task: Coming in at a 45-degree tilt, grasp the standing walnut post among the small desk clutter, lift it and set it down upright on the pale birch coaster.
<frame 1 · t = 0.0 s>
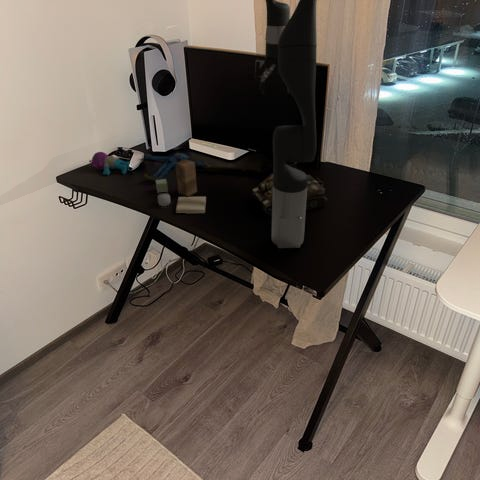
hand: (276, 92, 152), 29 cm above the table, tool pointing down, fingers open, 8 cm apart
toy character: (168, 171, 172), on the table
model tank: (289, 203, 149), on the table
toy: (111, 170, 174), on the table
walnut post: (187, 192, 156), on the table
sage cube: (162, 190, 158), on the table
birch coaster: (191, 206, 148), on the table
grey rubber puck: (164, 204, 149), on the table
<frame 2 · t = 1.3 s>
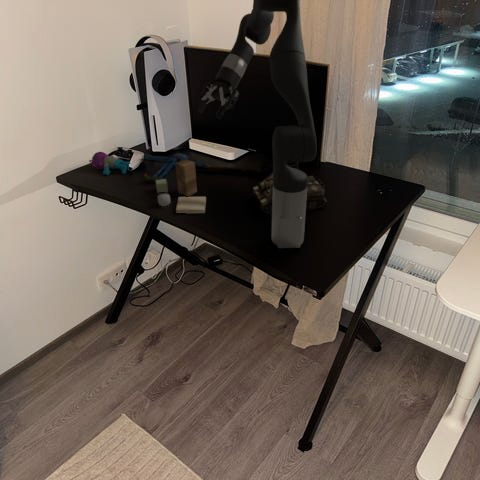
hand: (208, 114, 150), 24 cm above the table, tool tilted 45°, fingers open, 8 cm apart
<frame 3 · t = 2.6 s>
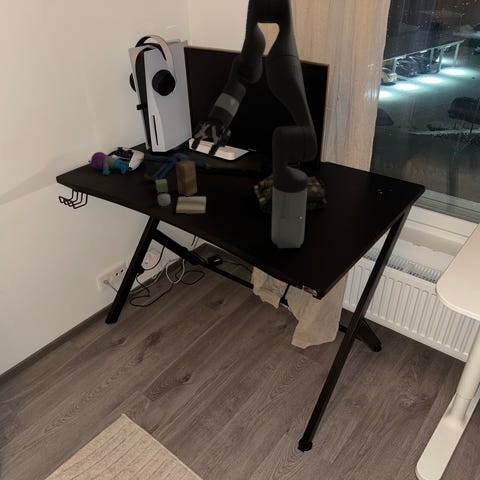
hand: (201, 152, 154), 12 cm above the table, tool tilted 45°, fingers open, 8 cm apart
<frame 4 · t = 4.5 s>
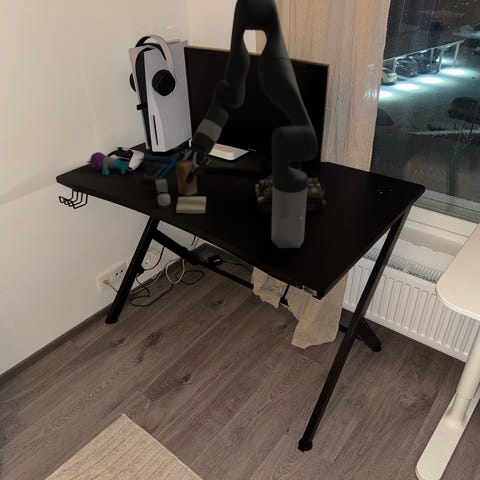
hand: (182, 180, 152), 5 cm above the table, tool tilted 45°, fingers closed on walnut post, 4 cm apart
walnut post: (187, 192, 156), on the table, touching gripper
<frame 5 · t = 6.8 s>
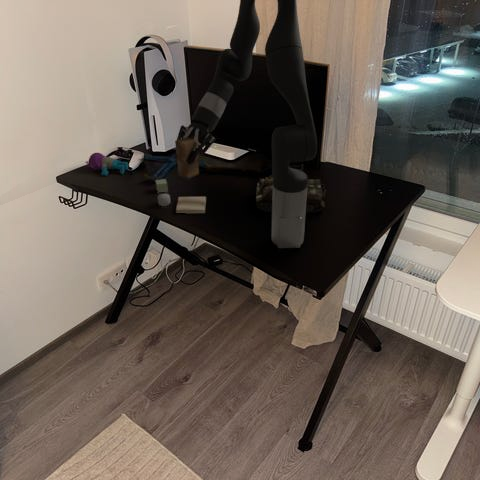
hand: (182, 160, 138), 17 cm above the table, tool tilted 45°, fingers closed on walnut post, 4 cm apart
walnut post: (188, 174, 142), point 11 cm above the table, touching gripper
when the fingers open (8 cm above the table, at t = 8.7 s): walnut post drops 1 cm, resting on birch coaster.
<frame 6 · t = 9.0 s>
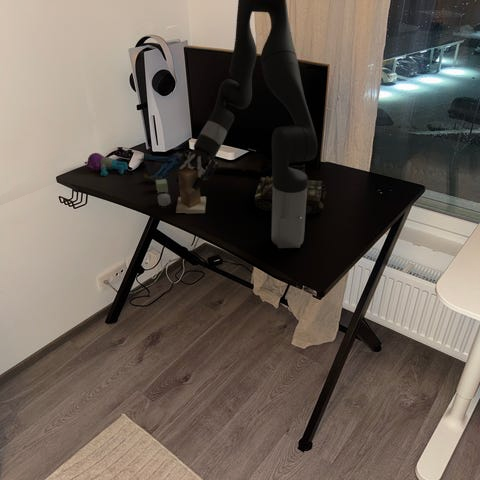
hand: (185, 185, 142), 8 cm above the table, tool tilted 45°, fingers open, 7 cm apart
walnut post: (190, 203, 147), point 1 cm above the table, touching birch coaster
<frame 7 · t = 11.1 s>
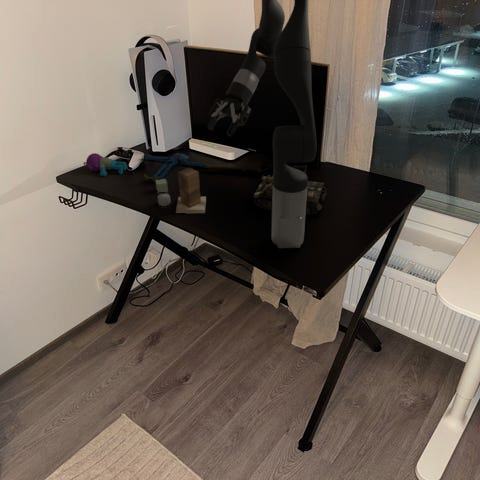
hand: (218, 132, 143), 22 cm above the table, tool tilted 45°, fingers open, 8 cm apart
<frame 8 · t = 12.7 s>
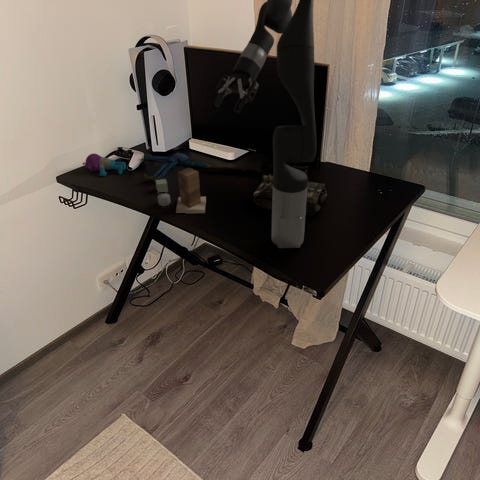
hand: (225, 108, 141), 29 cm above the table, tool tilted 45°, fingers open, 8 cm apart
at the end: walnut post inside the target area on the birch coaster (0.1 cm from its centre), point 1.2 cm above the birch coaster's base; walnut post tilted 0°; the gripper is holding nothing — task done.
